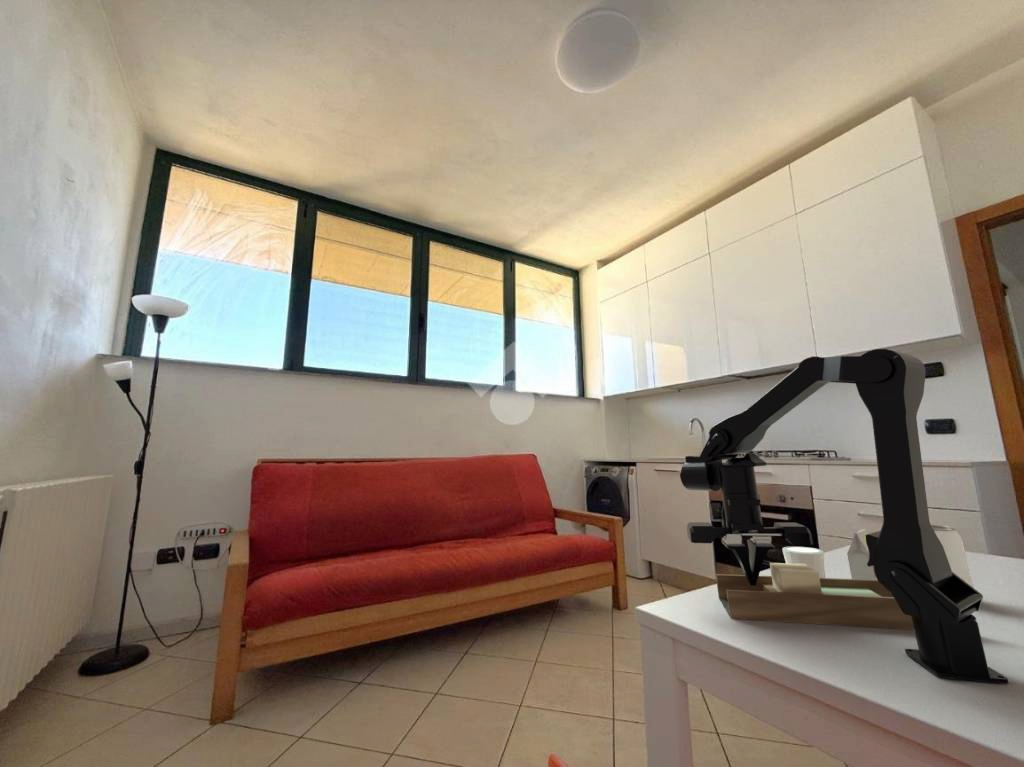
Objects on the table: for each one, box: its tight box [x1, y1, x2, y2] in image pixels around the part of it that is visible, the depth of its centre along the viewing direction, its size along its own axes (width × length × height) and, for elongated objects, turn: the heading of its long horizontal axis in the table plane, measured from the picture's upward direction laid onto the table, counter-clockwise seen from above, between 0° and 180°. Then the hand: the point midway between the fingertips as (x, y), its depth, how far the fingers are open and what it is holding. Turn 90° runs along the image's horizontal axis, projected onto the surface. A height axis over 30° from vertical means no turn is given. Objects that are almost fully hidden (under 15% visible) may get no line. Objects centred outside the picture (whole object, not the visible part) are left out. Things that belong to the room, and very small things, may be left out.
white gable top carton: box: [847, 528, 877, 580], centre depth 82 cm, size 4×7×10 cm, turn 126°
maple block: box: [769, 562, 822, 594], centre depth 69 cm, size 6×6×4 cm
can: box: [931, 524, 974, 588], centre depth 72 cm, size 6×6×12 cm
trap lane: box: [715, 573, 914, 631], centre depth 67 cm, size 10×30×4 cm, turn 73°
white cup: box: [781, 545, 826, 578], centre depth 81 cm, size 7×7×7 cm
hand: (752, 584), depth 71 cm, fingers closed
